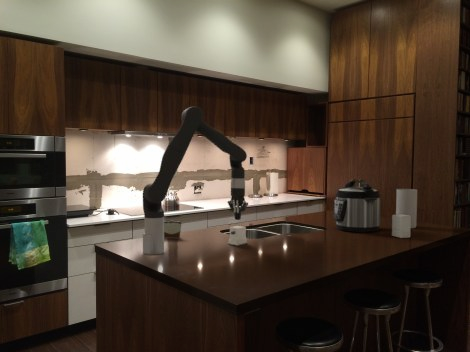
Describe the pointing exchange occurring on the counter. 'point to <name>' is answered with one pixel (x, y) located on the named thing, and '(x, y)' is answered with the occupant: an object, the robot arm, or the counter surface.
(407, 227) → the supplement box
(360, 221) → the pressure cooker
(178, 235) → the food container
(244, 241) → the socket block
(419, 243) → the counter surface
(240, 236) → the plug
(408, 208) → the cylinder vase
